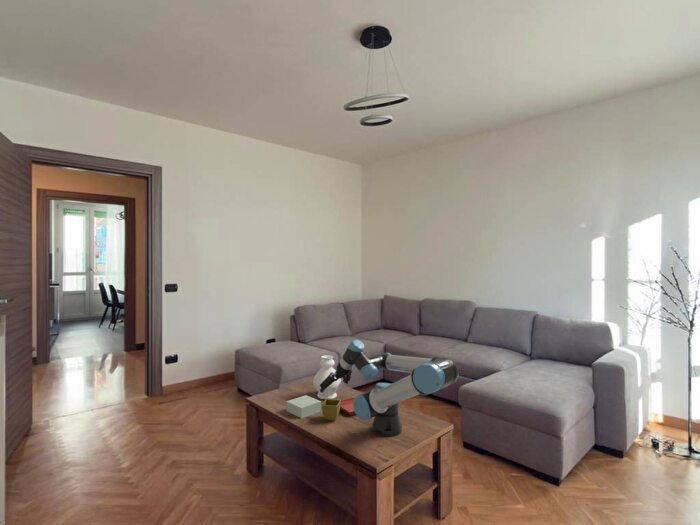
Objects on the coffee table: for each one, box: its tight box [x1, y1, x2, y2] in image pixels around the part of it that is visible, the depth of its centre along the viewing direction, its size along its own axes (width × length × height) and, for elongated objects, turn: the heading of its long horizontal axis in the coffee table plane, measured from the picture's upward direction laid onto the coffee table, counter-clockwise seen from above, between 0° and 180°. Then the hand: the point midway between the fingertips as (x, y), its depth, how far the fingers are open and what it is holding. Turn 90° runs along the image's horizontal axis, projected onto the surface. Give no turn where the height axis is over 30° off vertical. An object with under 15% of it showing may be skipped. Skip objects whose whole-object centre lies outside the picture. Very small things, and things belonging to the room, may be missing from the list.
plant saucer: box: [340, 396, 356, 416], centre depth 222 cm, size 18×18×3 cm
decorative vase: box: [312, 354, 342, 400], centre depth 243 cm, size 18×18×25 cm
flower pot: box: [321, 399, 342, 422], centre depth 208 cm, size 9×9×9 cm
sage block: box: [286, 394, 322, 419], centre depth 219 cm, size 14×14×6 cm
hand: (329, 392), depth 205 cm, fingers open, 13 cm apart
